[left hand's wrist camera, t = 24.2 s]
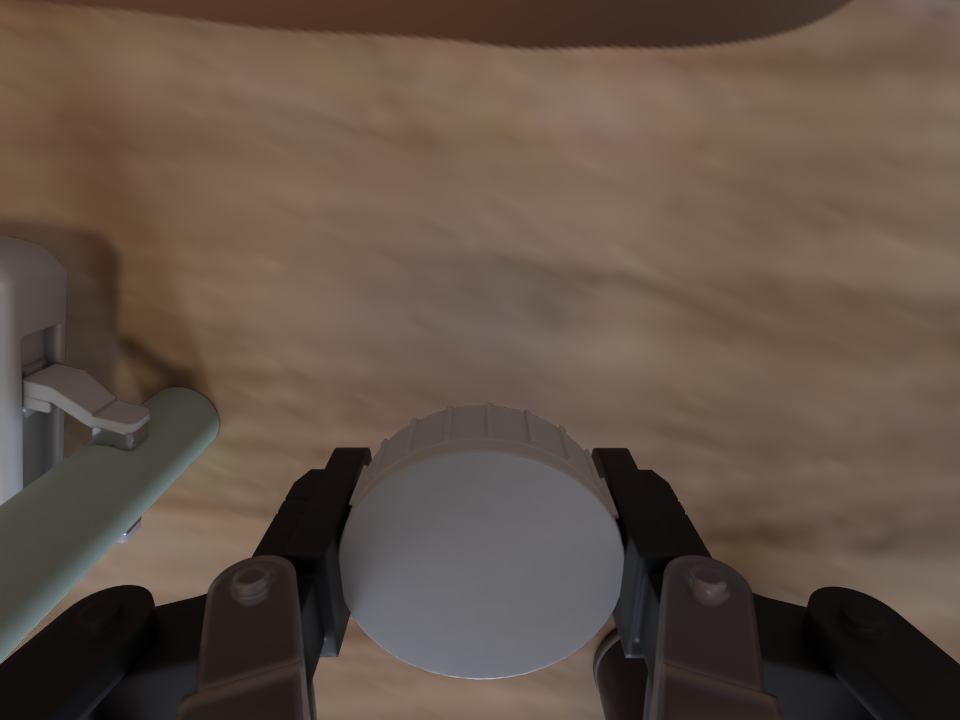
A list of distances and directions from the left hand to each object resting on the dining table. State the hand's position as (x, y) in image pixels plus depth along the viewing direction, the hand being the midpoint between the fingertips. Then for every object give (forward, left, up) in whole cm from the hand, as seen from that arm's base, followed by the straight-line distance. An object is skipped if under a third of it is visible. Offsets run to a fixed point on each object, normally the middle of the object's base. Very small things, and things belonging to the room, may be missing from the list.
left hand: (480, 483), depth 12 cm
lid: (0, 0, +3) cm, 3 cm away
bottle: (-3, +19, -18) cm, 27 cm away
